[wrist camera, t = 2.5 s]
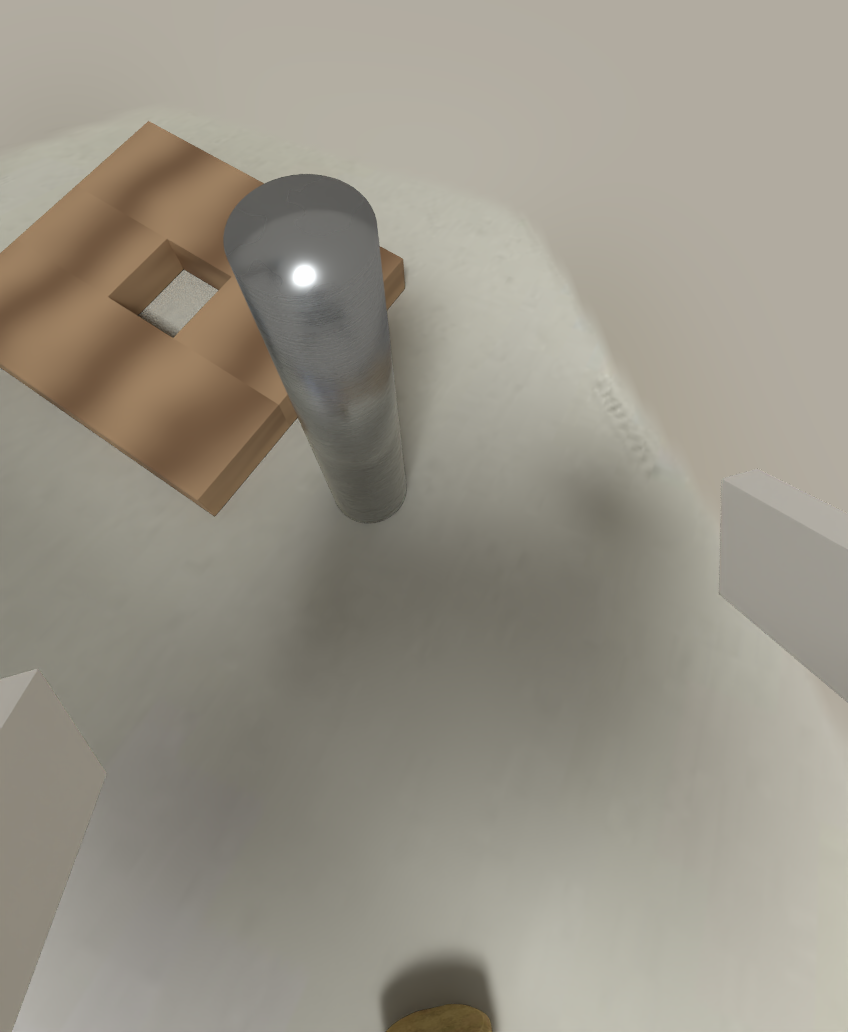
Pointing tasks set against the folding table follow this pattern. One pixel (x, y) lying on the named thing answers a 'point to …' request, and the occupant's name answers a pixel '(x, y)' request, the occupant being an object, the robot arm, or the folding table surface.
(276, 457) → the folding table surface
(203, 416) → the walnut hole block
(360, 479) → the steel peg
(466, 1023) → the gavel
